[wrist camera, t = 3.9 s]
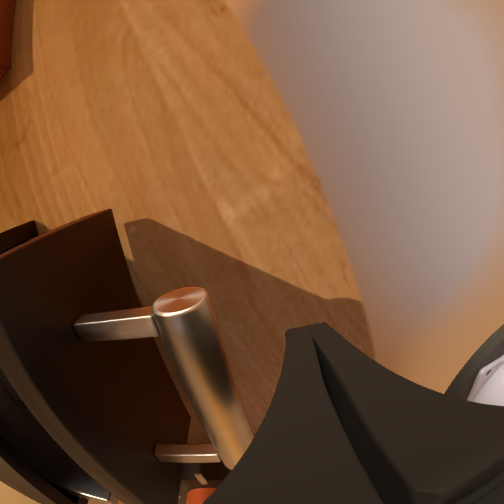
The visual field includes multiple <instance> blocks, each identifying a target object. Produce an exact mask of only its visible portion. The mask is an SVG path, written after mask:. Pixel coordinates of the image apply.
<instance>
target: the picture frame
mask: <svg viewBox="0 0 504 504" xmlns="http://www.w3.org/2000/svg"><path fill="white" fill-rule="evenodd" d="M15 1H16V0H0V78H1V77H2V76H3V75H4V74H5V73H6V72H7V71H8V70H9V69H10V68H11V39H12V26H13V16H14V8H15Z"/></svg>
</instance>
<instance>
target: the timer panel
mask: <svg viewBox="0 0 504 504" xmlns="http://www.w3.org/2000/svg"><path fill="white" fill-rule="evenodd" d="M231 471H232V470H231V469H229V468H227V467H226V466H225V465H224V463H223V461H222V460H221V462H210V463H184V464H183V471H182V477H181V484H180V491H179V499H178V504H186V500H187V493H188V492H189V491H190V490H192V489H196V488H207V487H210V488H217V487H218V486H219V485H220V484H221V483H222V482H223V481H224V480H225V478H226V477H227V476H228V475H229V473H230V472H231Z"/></svg>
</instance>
